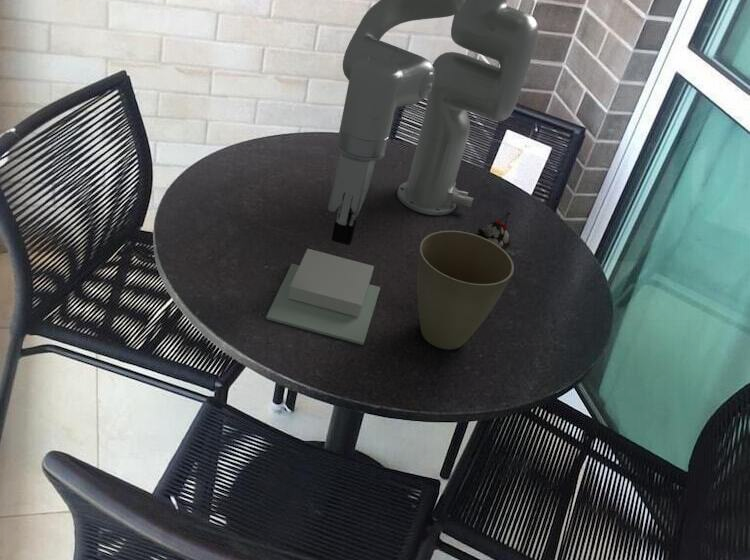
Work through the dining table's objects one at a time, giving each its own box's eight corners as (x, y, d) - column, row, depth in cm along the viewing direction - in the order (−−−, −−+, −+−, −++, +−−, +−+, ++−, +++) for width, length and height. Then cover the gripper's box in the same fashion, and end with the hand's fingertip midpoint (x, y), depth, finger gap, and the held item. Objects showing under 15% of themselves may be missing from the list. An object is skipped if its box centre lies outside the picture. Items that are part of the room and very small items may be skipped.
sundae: (498, 280, 151) (523, 212, 143) (491, 299, 146) (515, 229, 137) (465, 268, 152) (487, 200, 144) (456, 286, 147) (479, 216, 139)
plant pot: (480, 313, 142) (506, 238, 133) (491, 371, 129) (521, 291, 120) (396, 301, 140) (417, 223, 131) (399, 358, 128) (423, 276, 119)
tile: (374, 266, 141) (361, 305, 131) (371, 278, 143) (358, 318, 133) (307, 248, 142) (290, 286, 132) (305, 261, 143) (287, 299, 133)
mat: (379, 289, 141) (380, 287, 141) (363, 345, 128) (363, 342, 128) (291, 265, 142) (291, 263, 142) (265, 318, 129) (266, 316, 128)
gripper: (348, 116, 130) (329, 213, 140) (328, 154, 117) (309, 258, 128) (393, 128, 129) (371, 224, 140) (378, 168, 117) (355, 270, 128)
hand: (341, 240), depth 134 cm, fingers closed
